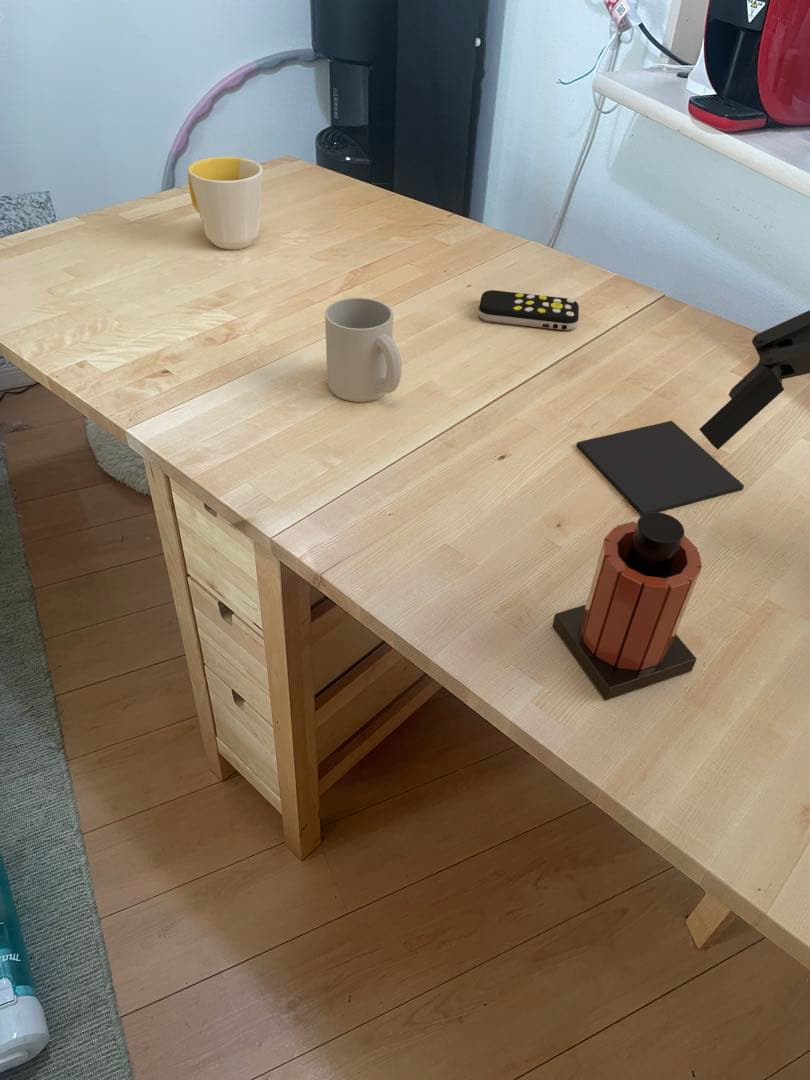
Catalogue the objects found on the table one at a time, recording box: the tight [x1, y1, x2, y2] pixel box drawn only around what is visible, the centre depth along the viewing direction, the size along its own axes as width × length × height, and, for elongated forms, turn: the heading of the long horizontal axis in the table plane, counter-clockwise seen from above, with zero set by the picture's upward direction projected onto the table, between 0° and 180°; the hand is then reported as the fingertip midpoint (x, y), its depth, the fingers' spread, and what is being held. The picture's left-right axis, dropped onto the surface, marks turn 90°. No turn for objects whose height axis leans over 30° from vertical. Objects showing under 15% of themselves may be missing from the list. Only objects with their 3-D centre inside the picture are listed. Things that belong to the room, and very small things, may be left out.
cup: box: [324, 297, 403, 403], centre depth 88 cm, size 7×10×9 cm
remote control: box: [478, 289, 580, 331], centre depth 105 cm, size 6×13×2 cm, turn 80°
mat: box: [576, 420, 745, 517], centre depth 83 cm, size 12×12×1 cm
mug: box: [187, 156, 264, 250], centre depth 117 cm, size 14×10×10 cm
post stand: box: [552, 512, 698, 701], centre depth 60 cm, size 8×8×13 cm
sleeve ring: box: [581, 520, 703, 670], centre depth 61 cm, size 7×7×9 cm
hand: (767, 492), depth 58 cm, fingers open, 13 cm apart
